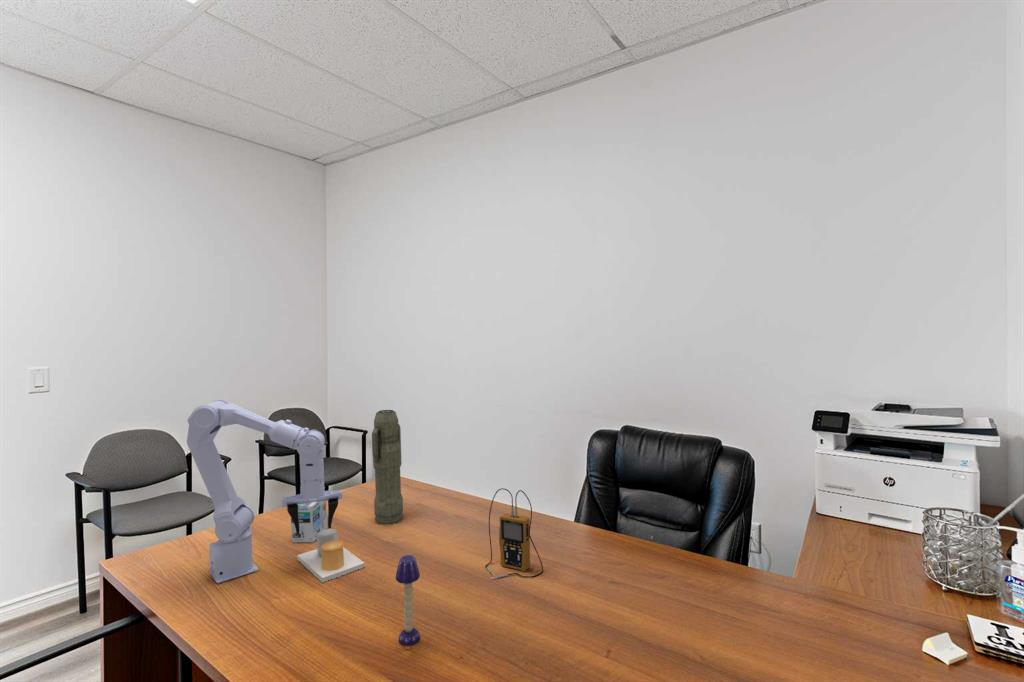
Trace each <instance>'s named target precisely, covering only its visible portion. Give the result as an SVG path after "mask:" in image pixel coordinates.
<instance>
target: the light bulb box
mask: <svg viewBox="0 0 1024 682" xmlns="http://www.w3.org/2000/svg"><path fill="white" fill-rule="evenodd" d="M327 511H328V509H327V501H320V502H312V503H305V504H298V519H299V533H296V528H295V525H294V522H293V520H292V518H291V517H290V525H291V526H290V527H291V543H315V541H317V533H318V532H320V531H322V530H325V529H328V514H327Z"/></svg>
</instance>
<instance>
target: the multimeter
mask: <svg viewBox="0 0 1024 682" xmlns="http://www.w3.org/2000/svg"><path fill="white" fill-rule="evenodd" d="M501 490H504V491H507V492H508V493H509V495H510V497H511V511H510V513H507V512H505V513H503V514H502V515H501V516H499V533H498V534H499V535H498V536H499V538H498V539H499V551H500V565H501V567H503V568H510V569H514V570H518V571H521V572H526V571H527V570H528V569H529V568H530V567H531V543H532V546H533V549H534V550H535V552H536V555H537V558H538V559H539V562H540V565H541V572H539V573H538V574H536V575H535V574H534V575H531V576H526V575H522V574H520V573H516V572H513V573H507V574H502V575H501V574H500V575H496V576H495V574H494V573H493V571H492V569H490V568H489V567H488V566H489V565H490V564H491V563H492V560H493V559H492V558H493V550H492V539H491V538H492V537H491V527H490V526H491V525H490V520H491V511H492V508H493V507H492V506H493V504H494V503H493V502H494V499H495V497H496V495H497V493H498V492H499V491H501ZM519 492H522V494H523V495H524V496H525V497H526V499H527V501H528V504H529V505H530V506H529V507H530V517H528V516H523V515H518V510H517V509H518V506H517V496H518V495H519ZM514 498H515V500H514V499H513V494H512V492H511V491H510V490H509V489H507V488H504V487H503V488H501V487H500V488H498V490H496V491H495V493H494V495H493V498H492V501H491V503H490V508H489V515H488V534H489V535H488V536H489V543H490V561H489V562H487V564H485V569H487V572H489V573H490V574H492V575H493V577H491V578H489V580H494V579H501V578H504V577H505V578H506V577H508V576H511V575H517V576H520V577H523V578H534V577H537V576H539V575H541V574H543V572H544V567H543V566H544V565H543V563H542V560H541V558H540V555H539V552H538V550H537V548H536V546H535V544H534V542H533V539H532V536H531V524H532V518H533V515H532V514H533V509H532V503H531V501H530V499H529V497H528V496H527V494H526V493H525V492H524V491H523V490H522V489H521V490H520V489H519V490H518V491H517V492H516V494H515V496H514ZM514 501H515V505H513V504H514ZM514 509H515V510H514ZM494 576H495V577H494Z"/></svg>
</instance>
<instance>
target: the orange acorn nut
mask: <svg viewBox="0 0 1024 682" xmlns="http://www.w3.org/2000/svg"><path fill="white" fill-rule="evenodd" d="M343 547H344V543H343V541H342V540H339V539H338V540H331V541H327V542H325V543H323V544H322V545H321V557H322V570H327V571H331V570H336V569H339V568H341V567H342V566H344V553H343Z"/></svg>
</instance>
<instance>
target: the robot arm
mask: <svg viewBox="0 0 1024 682" xmlns="http://www.w3.org/2000/svg"><path fill="white" fill-rule="evenodd" d="M187 423H188V430H187V431H188V432H187V436H186V437H187V438H186V444H187V447H188V449H189V451H190V454H191V455H192V458H193V461H194V462H195V465H196V467H197V470H198V471H199V474H200V476H201V478H202V481H203V483H204V485H205V487H206V490H207V492H208V495H209V496H210V499H211V501H212V503H213V506H214V511H213V517H212V518H213V521H214V524H215V527H214V534H215V536H216V538H217V539H218V540H217V541H214V542H212V543H210V544H209V546H208V547H209V548H208V549H209V550H208V551H209V553H208V554H209V574H210V576H211V577H212V579H213V580H214V581H215V583H216V584H221V583H223V582H227V581H230V580H233V579H236V578H239V577H242V576H246V575H249V574H251V573H255V572H257V571H259V568H258V567H257V565H256V564H255V563H254V562H253V537H252V535H253V534H252V529H251V525H252V524H253V523H254V519H255V512H254V511H253V509H252V508H251V507H250V506H248V504H246V502H245V501H246V500H244V498H243V497H240V496H238V494H237V492H236V490H235V488H234V486H233V483H232V481H231V479H230V476H229V474H228V471H227V470H226V467H225V464H224V462H223V460H222V458H221V455H220V453H219V451H218V449H217V446H216V443H215V442H214V440H215V438H216V436H217V435H218V432H219V431H220V429H221V428H222V427H226V426H227V427H228V426H231V425H239V426H242V427H245V428H248V429H251V430H254V431H258V432H260V433H264V434H267V435H268V437H269V439H270V441H271V442H274V443H276V444H279V445H282V446H284V447H287V448H290V449H291V450H292V449H293V450H294V451H295V450H296V451H297V453H298V455H300V457H299V458H300V459H299V460H300V462H299V468H300V471H299V472H300V493H299V494H295V495H290V496H284V497H282V499H281V500H282V503H281V504H282V508H287V509H286V510H287V513H288V515H289V516H290V519H291V518H292V520H293V522H294V525H295V528H296V533H299V519H298V504H305V503H312V502H320V501H326V502H327V508H328V509H327V511H328V514H327V529H332V522H333V520H334V519H333V518H334V514H335V513H336V510H337V508H338V505H339V500H343V490H342V489H341V490H339V489H338V490H325V464H324V449H323V448H324V446H325V445H326V444H325V443H326V438H325V436H324V434H323V433H322V432H321V431H319V430H318V429H310V428H309V427H302V426H299V425H296V424H294V423H292V420H290V419H286V420H284V419H280V420H278V421H273V420H270V419H269V418H266V417H264V416H262V415H259V414H258V413H255V412H253V411H250V410H249V409H246V408H244V407H241V406H239V405H237V404H236V403H234V402H233V403H232V402H228V401H226V400H223V399H217V400H213V401H212V402H211V401H210V402H209V403H206V404H202V405H199V406H197V407H195V408H194V409H193V410H192V412H191V414H190V415H189V416H188V418H187Z"/></svg>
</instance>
